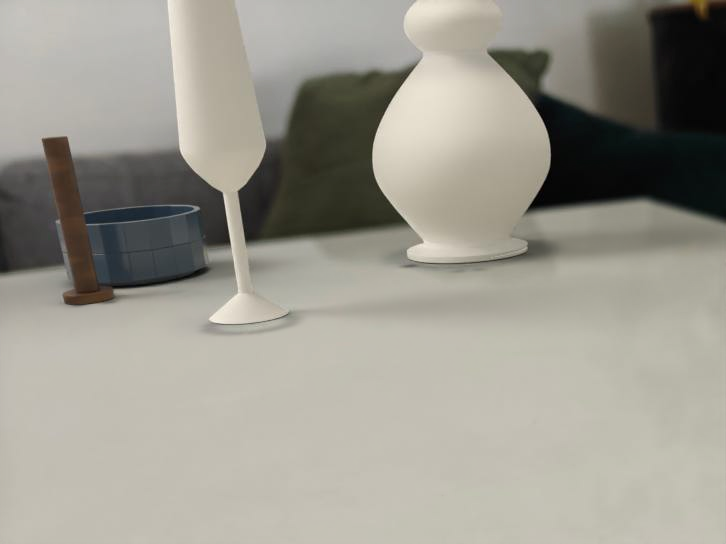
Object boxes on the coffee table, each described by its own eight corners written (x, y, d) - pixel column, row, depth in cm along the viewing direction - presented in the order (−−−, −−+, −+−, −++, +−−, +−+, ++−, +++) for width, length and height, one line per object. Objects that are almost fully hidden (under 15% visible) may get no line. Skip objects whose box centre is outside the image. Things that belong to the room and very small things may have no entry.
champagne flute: (198, 325, 92) (139, -13, 81) (221, 308, 98) (168, -10, 87) (279, 322, 91) (230, -20, 80) (296, 304, 97) (254, -16, 86)
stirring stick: (57, 305, 104) (19, 140, 97) (72, 296, 108) (36, 137, 102) (107, 302, 104) (72, 137, 97) (120, 293, 108) (87, 134, 102)
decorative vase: (585, 251, 113) (581, -39, 101) (423, 275, 106) (398, -32, 95) (504, 233, 127) (492, -23, 116) (357, 253, 121) (328, -16, 109)
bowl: (51, 293, 110) (36, 228, 108) (90, 268, 123) (78, 210, 120) (195, 283, 110) (184, 218, 108) (220, 259, 123) (210, 201, 120)
